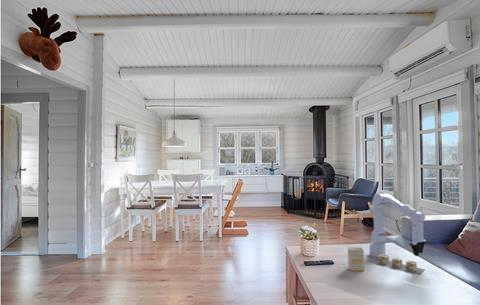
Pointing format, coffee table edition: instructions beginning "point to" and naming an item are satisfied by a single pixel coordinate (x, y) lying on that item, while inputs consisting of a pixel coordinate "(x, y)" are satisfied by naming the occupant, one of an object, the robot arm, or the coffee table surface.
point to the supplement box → (356, 259)
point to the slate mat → (403, 268)
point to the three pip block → (411, 265)
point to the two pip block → (383, 259)
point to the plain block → (397, 262)
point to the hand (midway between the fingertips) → (418, 254)
